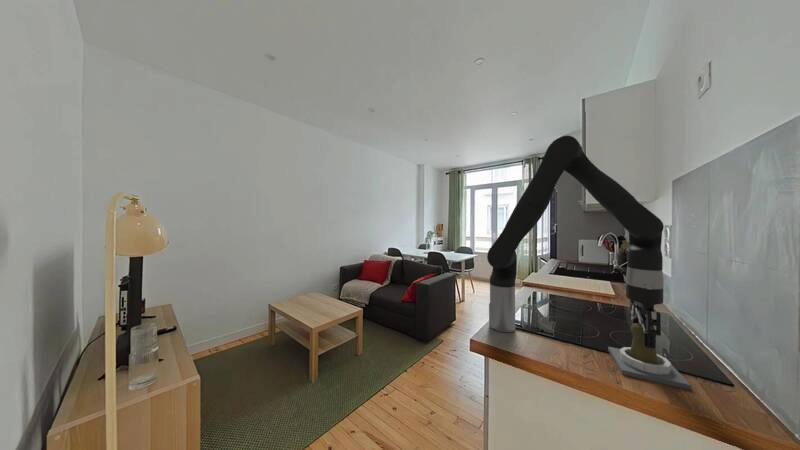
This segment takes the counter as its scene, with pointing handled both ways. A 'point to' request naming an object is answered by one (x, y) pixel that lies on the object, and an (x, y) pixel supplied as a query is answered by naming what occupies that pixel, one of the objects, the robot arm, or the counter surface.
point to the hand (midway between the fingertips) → (643, 340)
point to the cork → (641, 346)
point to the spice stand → (648, 368)
